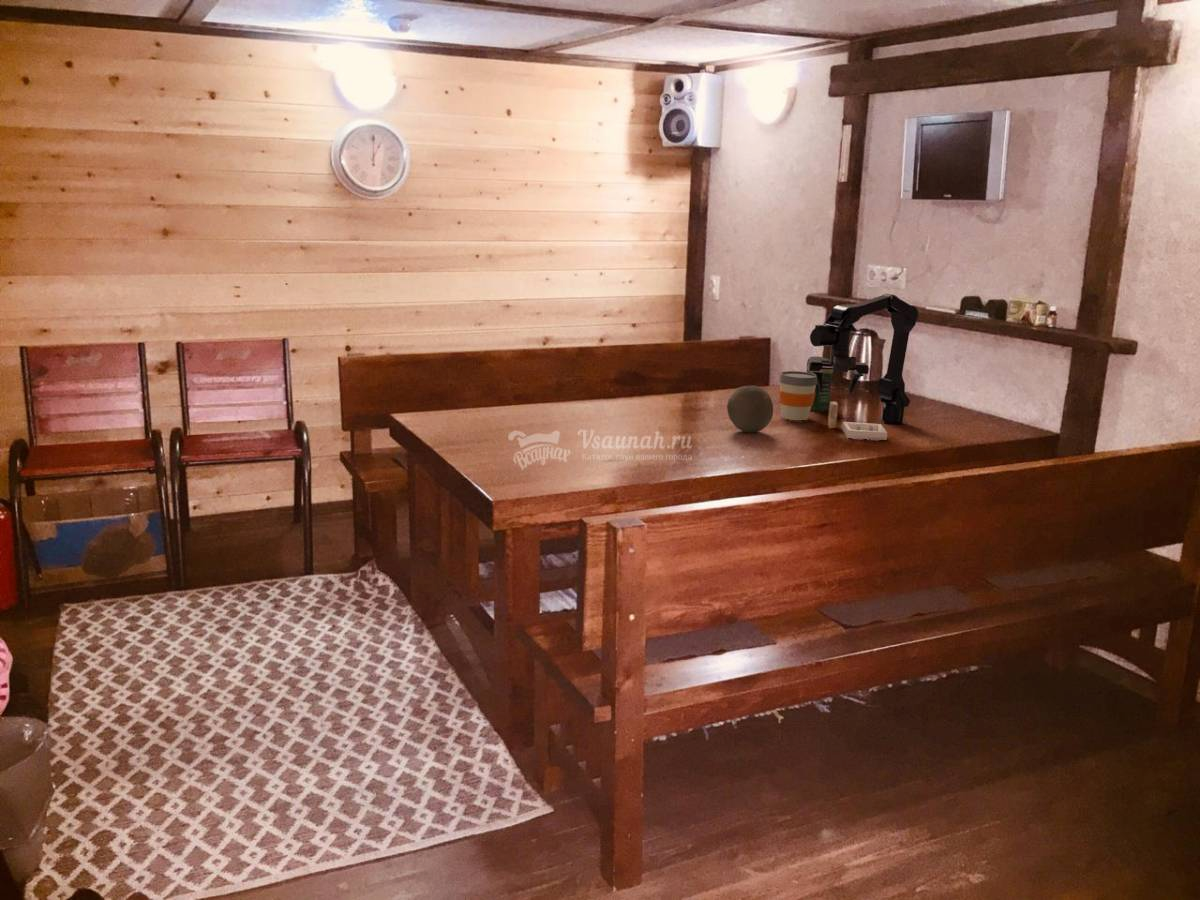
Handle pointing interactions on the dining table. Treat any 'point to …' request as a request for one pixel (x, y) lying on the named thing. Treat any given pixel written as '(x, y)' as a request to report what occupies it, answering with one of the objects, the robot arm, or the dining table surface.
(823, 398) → the coffee jar
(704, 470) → the dining table surface
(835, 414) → the tan cuboid brick
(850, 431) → the dish
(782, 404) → the reusable coffee cup
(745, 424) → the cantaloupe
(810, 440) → the dining table surface
